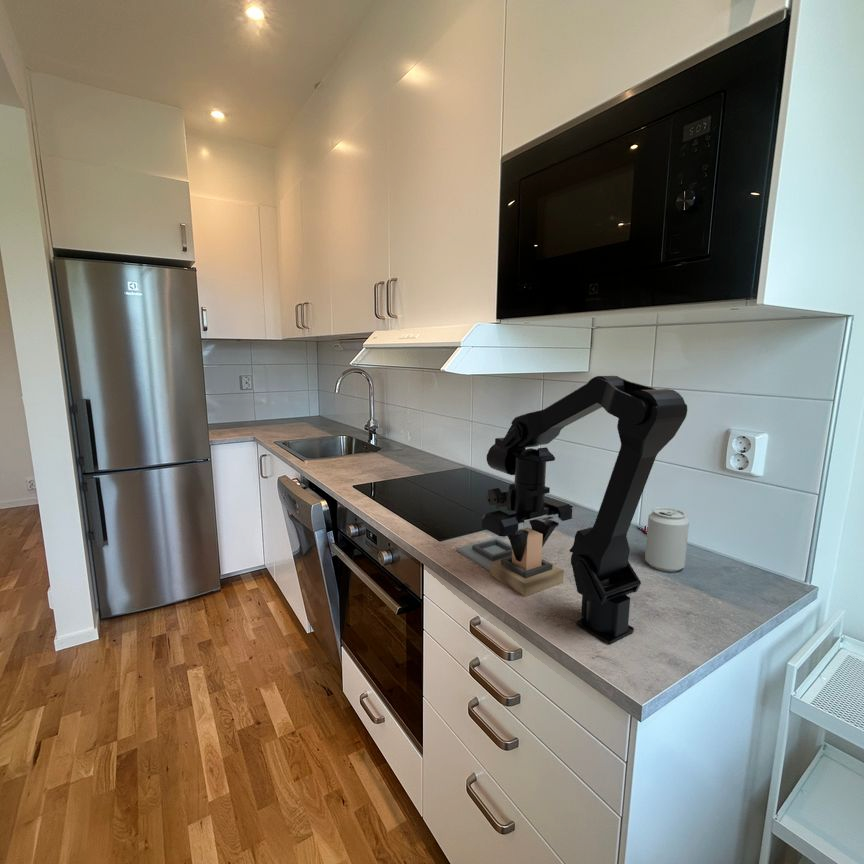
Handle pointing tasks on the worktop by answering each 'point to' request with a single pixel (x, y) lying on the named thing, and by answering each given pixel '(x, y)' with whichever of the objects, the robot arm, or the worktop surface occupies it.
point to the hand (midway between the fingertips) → (526, 558)
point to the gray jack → (487, 551)
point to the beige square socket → (526, 576)
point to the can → (667, 539)
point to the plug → (531, 551)
